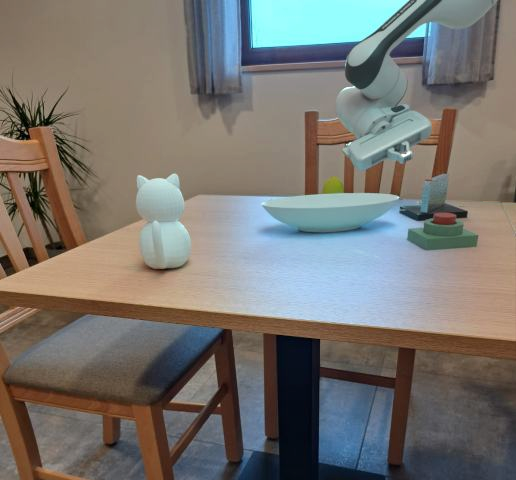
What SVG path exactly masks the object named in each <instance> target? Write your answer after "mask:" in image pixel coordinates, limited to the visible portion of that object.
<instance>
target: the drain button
mask: <svg viewBox="0 0 516 480" xmlns="http://www.w3.org/2000/svg"><path fill="white" fill-rule="evenodd" d="M456 220H457V218H456V215H455V214H452V213H435V214H434V215H433V223H434V224H439V225H454V224H455V221H456Z"/></svg>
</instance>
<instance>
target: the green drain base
mask: <svg viewBox="0 0 516 480" xmlns="http://www.w3.org/2000/svg"><path fill="white" fill-rule="evenodd" d="M464 223H465V222H464V221H462V220H459V219H456V221H455V224H454V225H439V224H434V223H433V218H432V219H427V220H425V221H423V227H413V228H408V229H407V239H406V240H407V241H409V242H411V243H413V244H414V245H416V246H418V247H419V248H421V249H422V250H424V251H437V250H449V249H461V248H464V249H465V248H474V247H477V245H478V241H479V234H477V233H476V232H473V231H470V230H468V229H466V228H464Z"/></svg>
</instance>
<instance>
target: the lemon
mask: <svg viewBox="0 0 516 480" xmlns="http://www.w3.org/2000/svg"><path fill="white" fill-rule="evenodd" d="M338 193H345V187H344V183H343V181H342V180H341V179H340V178H338V177H336V176H335V175H332V176H331V177H330V178H328V179H327V180H325V182H324V184H323V186H322V192H321V194H338Z"/></svg>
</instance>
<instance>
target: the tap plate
mask: <svg viewBox="0 0 516 480" xmlns="http://www.w3.org/2000/svg"><path fill="white" fill-rule="evenodd" d="M416 203H417V204H415V205H413V204H412V205H400V206H399V213H400V214H402V215H403V216H405V217H408V218H410V219H412V220H415V221H416V222H425V220H427V219H432V218H433V215H434V214H435V213H452V214H455V215H456V219H466V218H468V215H469V211H468V210H465V209H463V208H464V207H466V205H459V206H458V207H457V206H454V205H452V204H449V203H446V202H445V205H443V206H441V207H439V208H437V209H435V210H433V211H431V212H429V213H420V209H421V202H420V201H416Z"/></svg>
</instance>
